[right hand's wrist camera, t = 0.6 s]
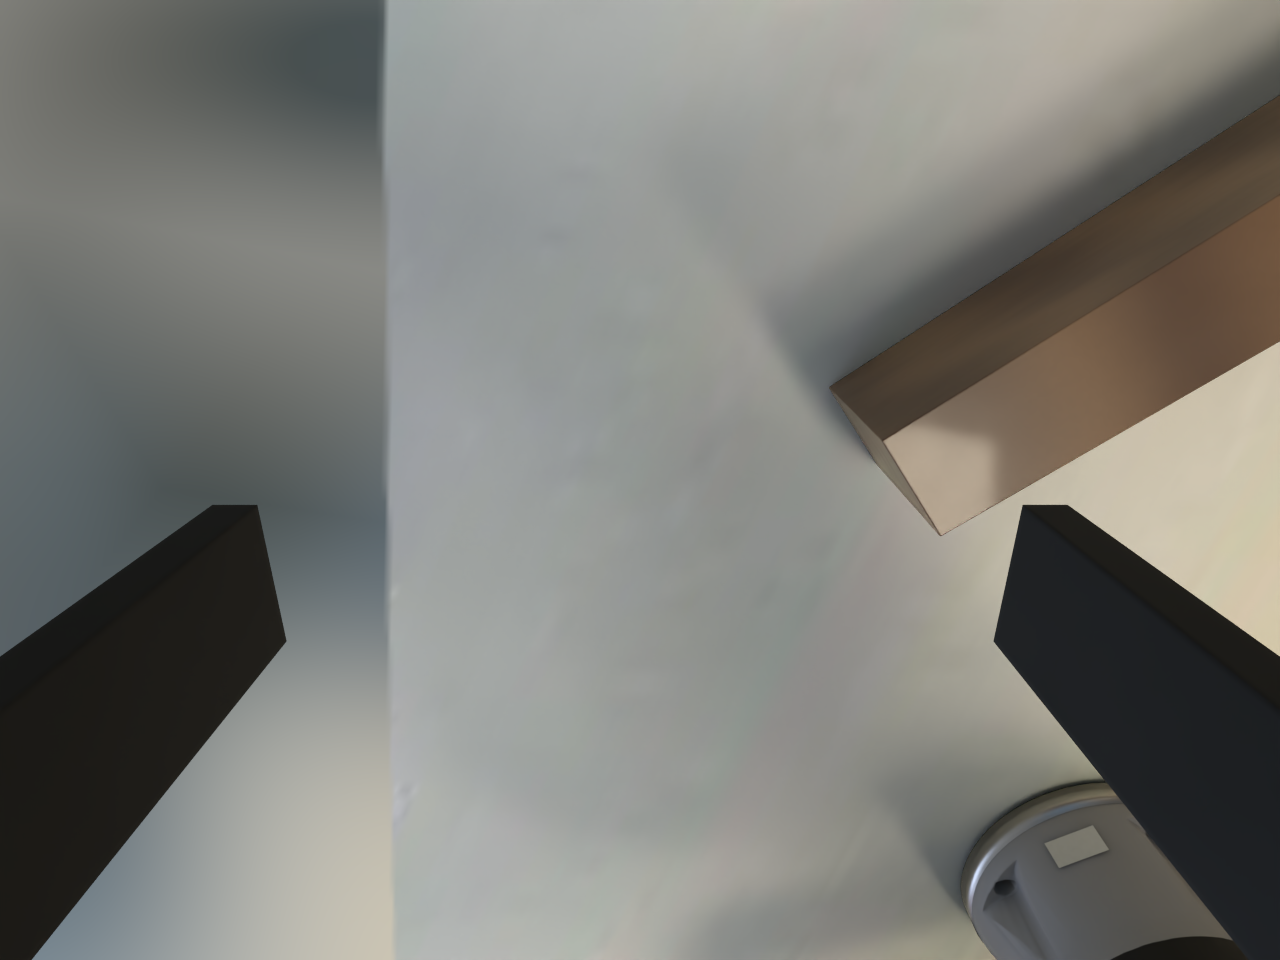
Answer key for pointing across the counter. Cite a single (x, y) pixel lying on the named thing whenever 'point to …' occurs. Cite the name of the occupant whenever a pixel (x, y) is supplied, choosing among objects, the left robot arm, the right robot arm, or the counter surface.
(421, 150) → the counter surface
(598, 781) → the counter surface
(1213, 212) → the bar
